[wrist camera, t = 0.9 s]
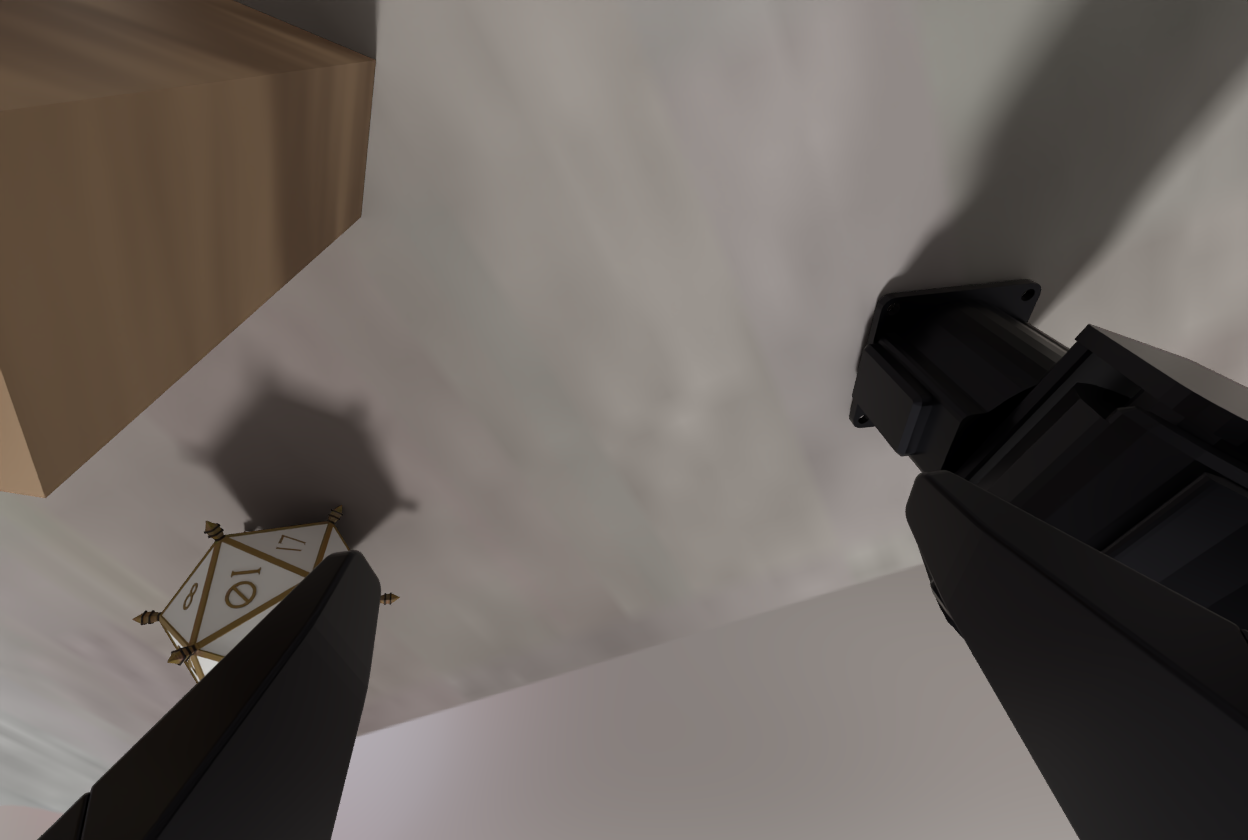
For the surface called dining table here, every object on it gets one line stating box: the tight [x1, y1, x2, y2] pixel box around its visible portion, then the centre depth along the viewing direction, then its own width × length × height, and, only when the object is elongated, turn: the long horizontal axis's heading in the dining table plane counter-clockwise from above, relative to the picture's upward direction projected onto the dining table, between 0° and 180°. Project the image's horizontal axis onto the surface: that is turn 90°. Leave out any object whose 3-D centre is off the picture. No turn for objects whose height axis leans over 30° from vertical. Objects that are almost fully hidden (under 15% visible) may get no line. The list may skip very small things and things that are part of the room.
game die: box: [132, 505, 400, 683], centre depth 23 cm, size 9×8×10 cm
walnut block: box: [0, 0, 376, 498], centre depth 10 cm, size 5×5×14 cm
